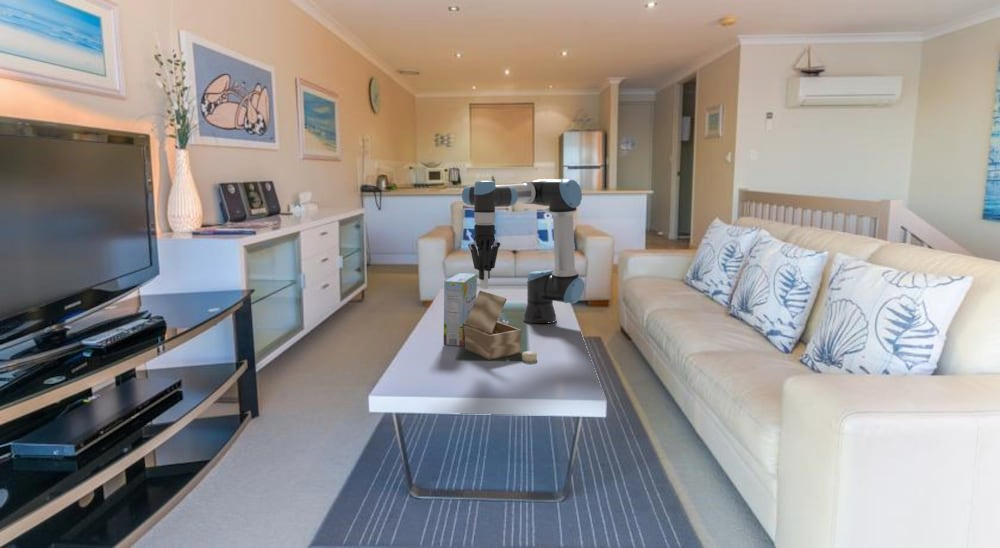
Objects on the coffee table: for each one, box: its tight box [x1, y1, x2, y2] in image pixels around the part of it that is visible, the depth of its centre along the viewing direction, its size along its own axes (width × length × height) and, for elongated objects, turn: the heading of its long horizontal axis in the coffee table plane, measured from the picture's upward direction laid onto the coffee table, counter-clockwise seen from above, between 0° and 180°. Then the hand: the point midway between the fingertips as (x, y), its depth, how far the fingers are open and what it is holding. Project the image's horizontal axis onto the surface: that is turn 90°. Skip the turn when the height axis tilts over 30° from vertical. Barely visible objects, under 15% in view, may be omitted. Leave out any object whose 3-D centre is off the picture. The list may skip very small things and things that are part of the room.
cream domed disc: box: [521, 350, 538, 363], centre depth 206 cm, size 5×5×2 cm
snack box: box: [443, 272, 478, 347], centre depth 230 cm, size 22×9×26 cm, turn 168°
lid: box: [465, 290, 507, 335], centre depth 211 cm, size 14×17×1 cm
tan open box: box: [464, 320, 522, 361], centre depth 215 cm, size 15×16×9 cm
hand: (484, 288), depth 209 cm, fingers closed
